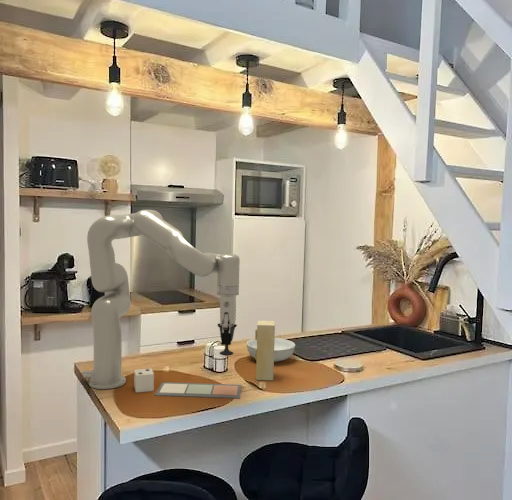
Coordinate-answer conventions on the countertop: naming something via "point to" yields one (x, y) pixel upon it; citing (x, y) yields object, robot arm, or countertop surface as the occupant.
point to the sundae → (226, 351)
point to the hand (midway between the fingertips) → (226, 341)
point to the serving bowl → (275, 348)
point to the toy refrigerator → (265, 350)
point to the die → (143, 380)
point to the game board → (199, 390)
